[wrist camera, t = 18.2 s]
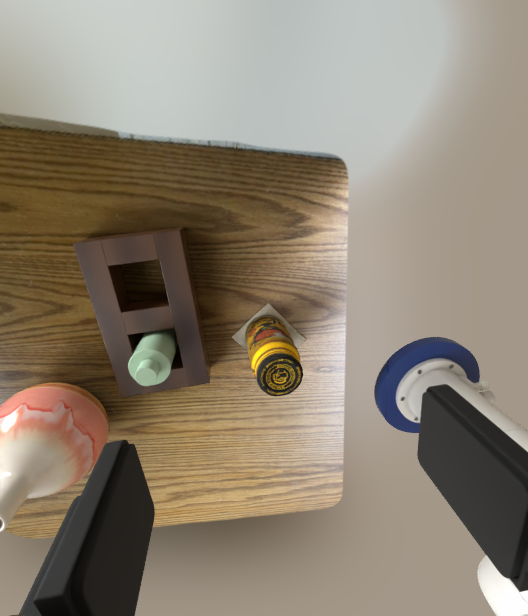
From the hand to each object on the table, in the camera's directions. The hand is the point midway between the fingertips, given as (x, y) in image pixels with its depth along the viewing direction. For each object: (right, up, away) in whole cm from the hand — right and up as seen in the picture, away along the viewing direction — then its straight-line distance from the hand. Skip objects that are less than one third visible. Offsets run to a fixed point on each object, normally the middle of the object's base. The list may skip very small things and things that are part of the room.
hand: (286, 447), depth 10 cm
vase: (-29, -10, +37) cm, 48 cm away
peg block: (-16, +4, +33) cm, 37 cm away
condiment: (0, 0, +37) cm, 37 cm away
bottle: (-15, 0, +35) cm, 38 cm away
